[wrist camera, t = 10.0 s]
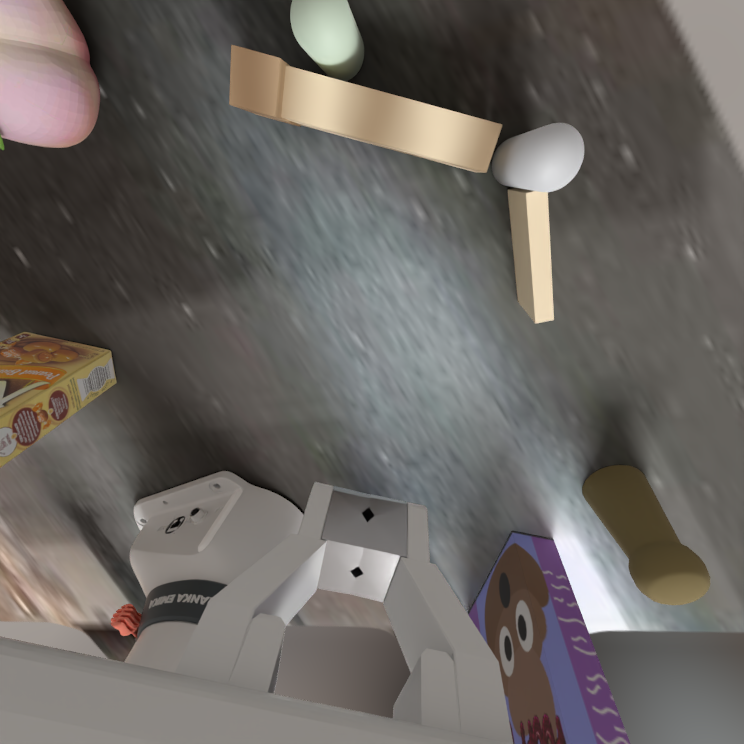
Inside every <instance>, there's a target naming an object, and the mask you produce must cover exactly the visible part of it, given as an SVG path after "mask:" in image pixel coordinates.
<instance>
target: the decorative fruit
mask: <svg viewBox="0 0 744 744" xmlns="http://www.w3.org/2000/svg"><path fill="white" fill-rule="evenodd" d="M99 105H100V89H99V83H98V80H97V77H96V75H95V73H94V71H93V70H92V68H91V66H90V55H89V50H88V46H87V43H86V41H85V38H84V36H83V34H82V32H81V30H80V28H79V27H78V25H77V23H76V21H75V20H74V18H73V16H72V15H71V13H70V12H69V10H68V8H67V7H66V5H65V4H64V2H63V1H62V0H0V149H2V150H4V144H3V140H2V138H6V139H9V140H12V141H16V142H20V143H25V144H30V145H36V146H42V147H52V148H63V147H70V146H73V145H76V144H78V143H80V142H81V141H83V140H84V139H85V138H86V137H87V136H88V135H89V134H90V133H91V131H92V130H93V128H94V126H95V123H96V120H97V117H98V112H99Z"/></svg>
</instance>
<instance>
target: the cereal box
mask: <svg viewBox="0 0 744 744" xmlns="http://www.w3.org/2000/svg"><path fill="white" fill-rule="evenodd" d="M468 615H469V617H470V618H471V620H472V621H473V623H474V624H475V626H476V628H477V629H478V631H479V632H480V634H481V635H482V637H483V638H484V640H485V642H486V643H487V645H488V646H489V648H490V649H491V651H492V652H493V654H494V655H495V657H496V659H497V660H498V662H499V666H500V672H501V678H502V683H503V689H504V694H505V700H506V706H507V711H508V717H509V723H510V728H511V734H512V739H513V744H630V742H629V739H628V737H627V734H626V731H625V729H624V726H623V723H622V721H621V718H620V715H619V713H618V710H617V707H616V705H615V702H614V700H613V697H612V694H611V692H610V689H609V686H608V684H607V681H606V678H605V676H604V673H603V670H602V668H601V665H600V662H599V660H598V657H597V654H596V652H595V649H594V646H593V644H592V641H591V638H590V636H589V633H588V630H587V628H586V625H585V622H584V620H583V617H582V614H581V612H580V609H579V606H578V604H577V601H576V598H575V596H574V593H573V590H572V588H571V585H570V582H569V580H568V577H567V574H566V572H565V569H564V566H563V564H562V561H561V559H560V556H559V553H558V551H557V548H556V545H555V543H554V540H553V539H551V538H546V537H541V536H536V535H531V534H526V533H521V532H516V531H512V532H511V534H510V536H509V538H508V540H507V541H506V543H505V545H504V547H503V549H502V551H501V553H500V555H499V556H498V558H497V560H496V562H495V564H494V566H493V568H492V570H491V571H490V573H489V575H488V577H487V579H486V581H485V583H484V585H483V586H482V588H481V590H480V592H479V594H478V596H477V598H476V600H475V601H474V603H473V605H472V607H471V609H470V611H469V613H468Z"/></svg>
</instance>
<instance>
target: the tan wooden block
mask: <svg viewBox="0 0 744 744" xmlns="http://www.w3.org/2000/svg"><path fill="white" fill-rule="evenodd" d="M229 105H232V106H235V107H238V108H241V109H243V110H246V111H249V112H252V113H255V114H257V115H260V116H263V117H267V118H270V119H274V120H278V121H281V122H285V123H289V124H292V125H296V126H300V127H301V125H303V126H306V127H310V128H314V129H318V130H321V131H325V132H329V133H332V134H336V135H340V136H343V137H347V138H351V139H354V140H358V141H362V142H366V143H369V144H373V145H377V146H380V147H384V148H388V149H391V150H395V151H399V152H402V153H406V154H410V155H414V156H417V157H421V158H425V159H428V160H432V161H436V162H439V163H443V164H447V165H450V166H454V167H458V168H462V169H465V170H469V171H473V172H480V173H486V172H487V169H488V166H489V163H490V160H491V157H492V155H493V152H494V149H495V146H496V143H497V140H498V137H499V134H500V131H501V128H502V124H498V123H495V122H491V121H488V120H484V119H480V118H477V117H473V116H469V115H466V114H462V113H458V112H455V111H451V110H447V109H444V108H440V107H436V106H433V105H429V104H426V103H422V102H418V101H415V100H411V99H407V98H404V97H400V96H396V95H393V94H389V93H385V92H382V91H378V90H375V89H371V88H367V87H364V86H360V85H356V84H353V83H349V82H345V81H342V80H338V79H334V78H331V77H327V76H323V75H320V74H316V73H313V72H309V71H305V70H302V69H298V68H294V67H291V66H289V65H288V64H287V63H286V62H284V61H283V60H282V59H281V58H278V57H275V56H271V55H268V54H264V53H260V52H257V51H253V50H249V49H246V48H242V47H238V46H235V45H231V71H230V100H229Z"/></svg>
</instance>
